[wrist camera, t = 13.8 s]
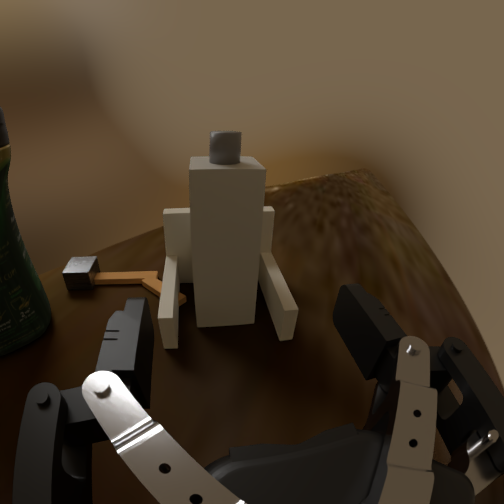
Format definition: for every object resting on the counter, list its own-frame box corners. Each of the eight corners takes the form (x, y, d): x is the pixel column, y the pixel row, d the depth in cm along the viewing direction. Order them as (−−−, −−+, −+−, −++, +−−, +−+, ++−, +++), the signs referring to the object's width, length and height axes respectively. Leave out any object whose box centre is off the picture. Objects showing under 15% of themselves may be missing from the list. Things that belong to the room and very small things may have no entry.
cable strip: (80, 308, 21) (78, 303, 21) (94, 277, 26) (92, 272, 25) (186, 307, 23) (185, 302, 23) (186, 275, 27) (186, 269, 27)
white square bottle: (197, 327, 21) (189, 135, 14) (195, 292, 25) (191, 129, 18) (254, 323, 22) (268, 136, 15) (244, 290, 26) (253, 130, 19)
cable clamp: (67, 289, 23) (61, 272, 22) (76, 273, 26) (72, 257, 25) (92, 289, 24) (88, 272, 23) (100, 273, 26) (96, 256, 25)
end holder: (164, 348, 19) (148, 265, 15) (170, 276, 27) (164, 208, 24) (292, 339, 21) (307, 259, 17) (265, 272, 29) (271, 206, 25)
